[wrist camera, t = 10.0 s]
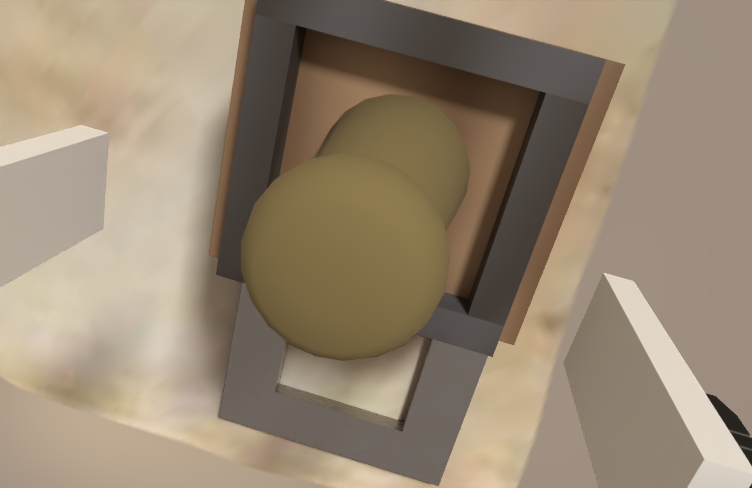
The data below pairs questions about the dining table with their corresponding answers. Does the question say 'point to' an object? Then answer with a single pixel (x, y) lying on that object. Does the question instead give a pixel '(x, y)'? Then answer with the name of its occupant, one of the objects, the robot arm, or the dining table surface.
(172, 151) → the dining table surface
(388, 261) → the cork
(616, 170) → the dining table surface
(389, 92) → the raised stand
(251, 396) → the low frame
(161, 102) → the dining table surface
